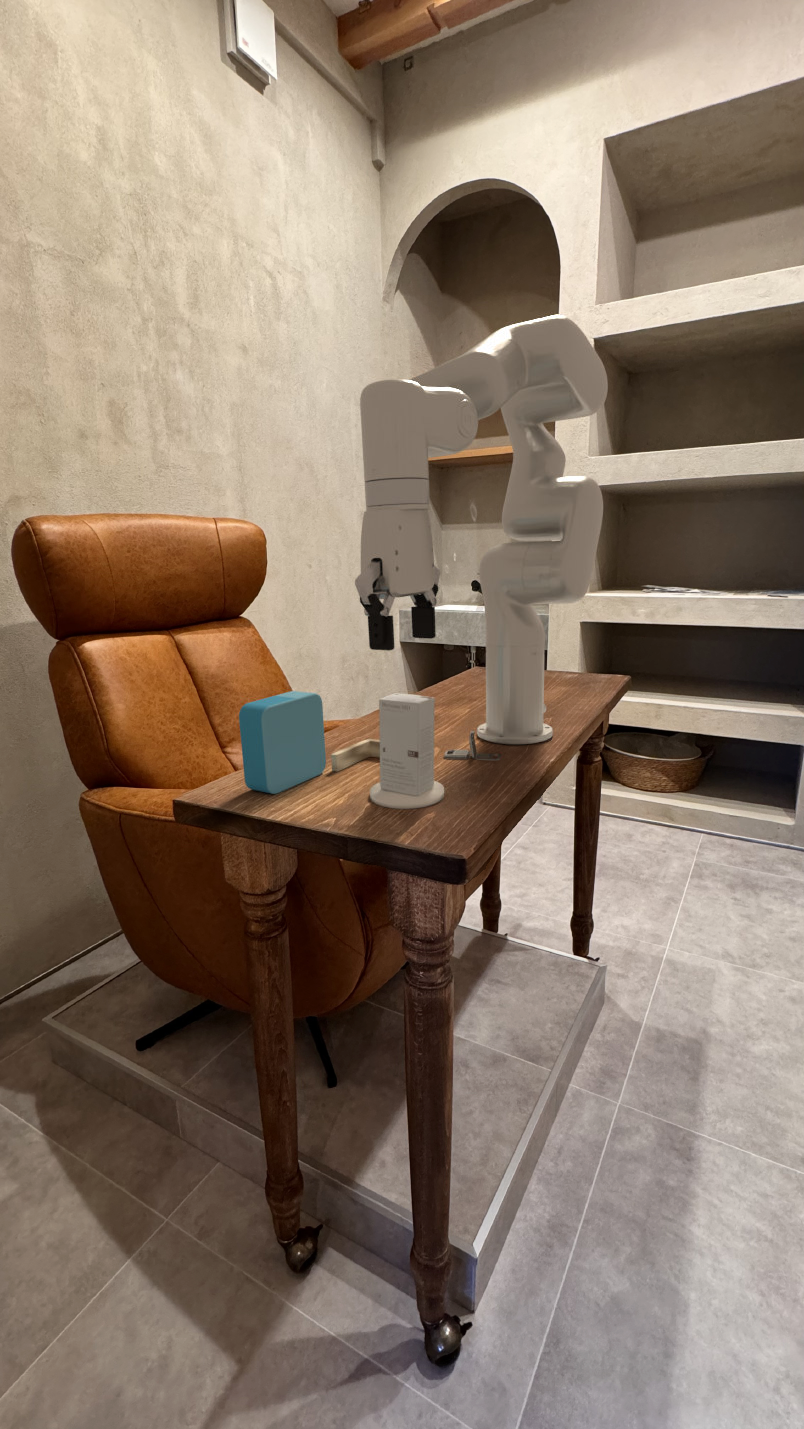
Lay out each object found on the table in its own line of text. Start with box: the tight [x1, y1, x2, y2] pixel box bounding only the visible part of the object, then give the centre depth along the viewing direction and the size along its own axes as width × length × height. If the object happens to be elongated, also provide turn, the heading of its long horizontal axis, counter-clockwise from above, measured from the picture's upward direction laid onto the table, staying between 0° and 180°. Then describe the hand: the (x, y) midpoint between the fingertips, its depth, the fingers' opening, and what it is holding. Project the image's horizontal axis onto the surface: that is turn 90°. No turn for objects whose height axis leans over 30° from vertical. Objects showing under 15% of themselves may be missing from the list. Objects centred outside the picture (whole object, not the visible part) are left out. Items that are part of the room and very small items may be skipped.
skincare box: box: [378, 692, 436, 796], centre depth 86 cm, size 6×4×12 cm
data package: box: [238, 690, 327, 795], centre depth 92 cm, size 12×4×12 cm, turn 147°
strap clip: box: [443, 730, 501, 761], centre depth 102 cm, size 8×3×4 cm, turn 78°
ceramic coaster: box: [369, 780, 445, 810], centre depth 87 cm, size 10×10×1 cm
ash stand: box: [330, 738, 380, 772], centre depth 99 cm, size 10×10×2 cm
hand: (404, 643), depth 83 cm, fingers open, 9 cm apart
